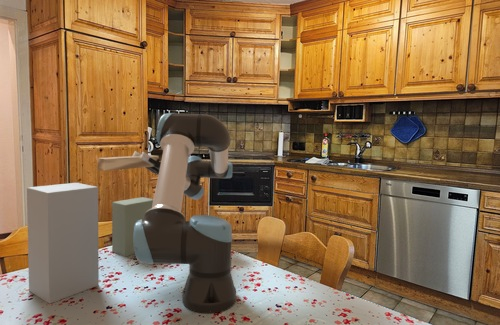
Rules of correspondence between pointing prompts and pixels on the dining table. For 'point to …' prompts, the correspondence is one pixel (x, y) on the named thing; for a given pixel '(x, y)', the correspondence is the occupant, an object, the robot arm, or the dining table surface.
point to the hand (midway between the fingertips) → (137, 154)
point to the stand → (62, 240)
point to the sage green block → (127, 223)
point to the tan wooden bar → (122, 163)
